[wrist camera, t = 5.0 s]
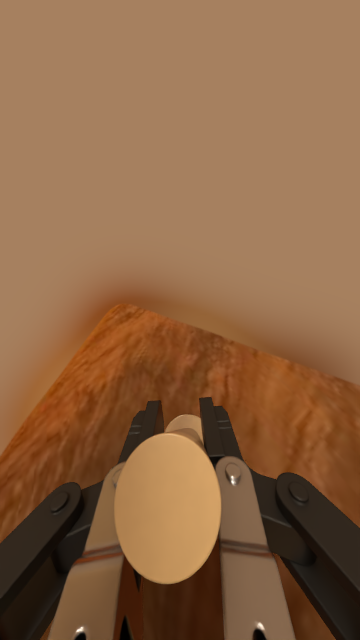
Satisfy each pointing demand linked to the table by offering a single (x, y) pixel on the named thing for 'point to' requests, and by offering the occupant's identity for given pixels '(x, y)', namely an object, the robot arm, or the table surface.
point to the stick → (168, 504)
